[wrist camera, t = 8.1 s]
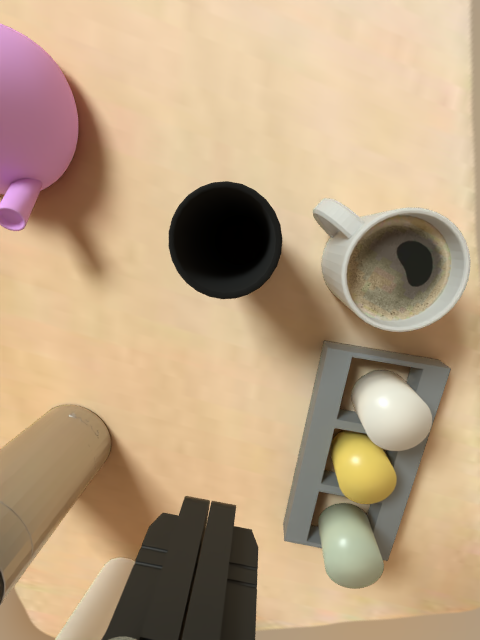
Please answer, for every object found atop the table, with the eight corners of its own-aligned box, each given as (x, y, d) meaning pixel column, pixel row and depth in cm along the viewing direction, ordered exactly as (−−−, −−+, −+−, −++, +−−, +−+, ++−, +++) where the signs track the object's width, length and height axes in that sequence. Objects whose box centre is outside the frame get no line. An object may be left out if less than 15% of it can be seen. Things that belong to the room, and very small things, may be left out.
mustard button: (373, 475, 39) (388, 508, 34) (325, 466, 39) (333, 498, 34) (386, 432, 38) (403, 461, 33) (335, 423, 38) (345, 450, 33)
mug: (416, 297, 34) (474, 321, 24) (321, 313, 35) (340, 342, 26) (407, 185, 32) (467, 162, 22) (305, 206, 33) (320, 194, 23)
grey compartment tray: (380, 541, 41) (387, 560, 39) (283, 523, 42) (284, 540, 40) (438, 359, 35) (450, 368, 33) (324, 340, 36) (328, 348, 34)
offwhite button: (400, 425, 35) (421, 456, 30) (345, 415, 35) (358, 444, 30) (415, 375, 33) (440, 398, 28) (358, 365, 34) (373, 387, 29)
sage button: (362, 548, 39) (375, 593, 34) (313, 539, 39) (319, 582, 34) (374, 508, 37) (390, 549, 32) (323, 499, 38) (331, 537, 33)
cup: (290, 220, 33) (302, 211, 22) (258, 290, 35) (253, 316, 24) (219, 187, 33) (192, 161, 22) (190, 259, 35) (152, 271, 24)
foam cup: (170, 570, 45) (133, 699, 33) (140, 612, 48) (94, 748, 35) (108, 536, 45) (46, 654, 32) (80, 580, 47) (12, 706, 34)
